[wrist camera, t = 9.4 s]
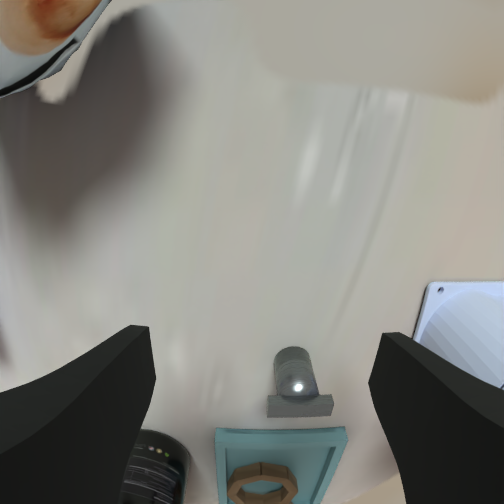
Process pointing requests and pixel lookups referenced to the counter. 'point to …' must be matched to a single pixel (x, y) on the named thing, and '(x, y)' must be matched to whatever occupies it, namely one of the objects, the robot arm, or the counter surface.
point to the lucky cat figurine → (41, 38)
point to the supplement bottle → (155, 471)
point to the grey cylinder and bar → (297, 387)
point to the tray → (281, 458)
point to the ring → (277, 500)
